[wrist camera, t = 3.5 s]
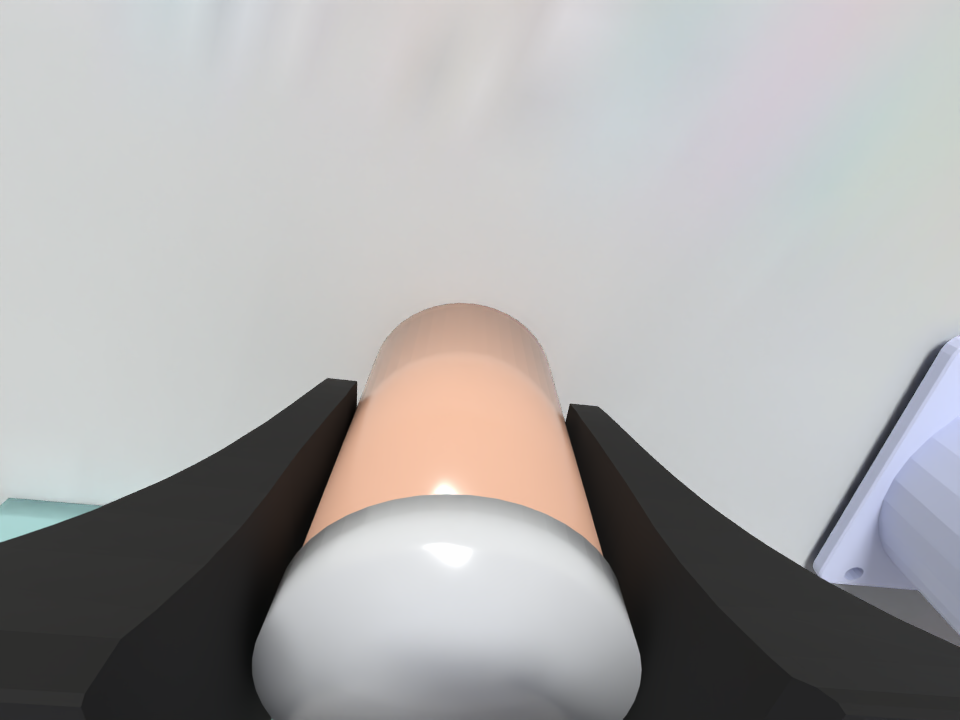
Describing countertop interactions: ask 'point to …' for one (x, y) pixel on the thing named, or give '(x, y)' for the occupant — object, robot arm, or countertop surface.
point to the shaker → (451, 549)
